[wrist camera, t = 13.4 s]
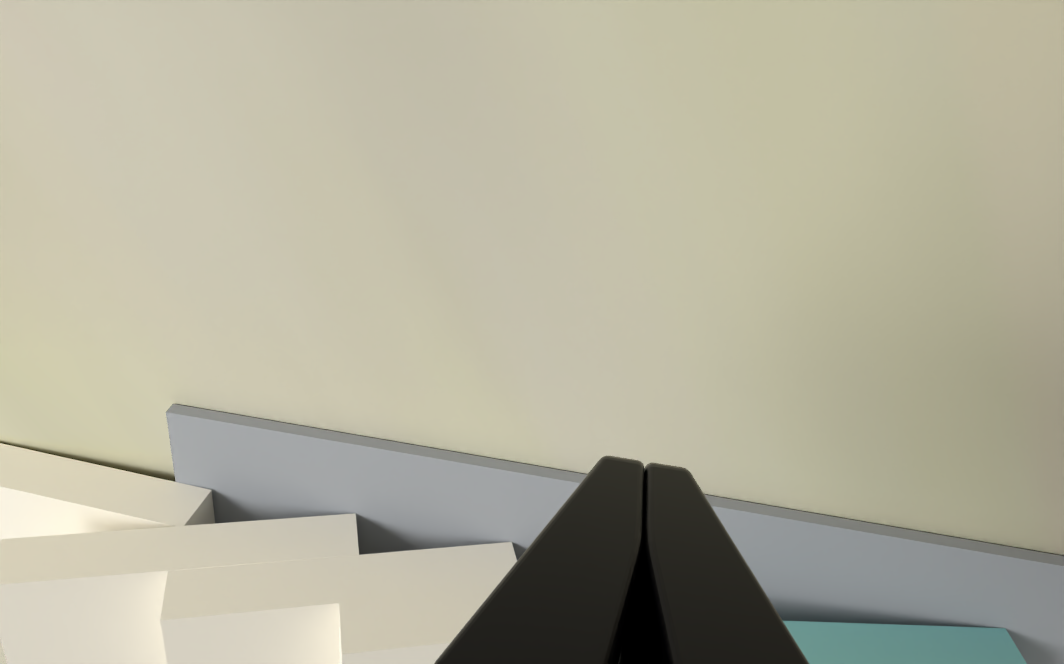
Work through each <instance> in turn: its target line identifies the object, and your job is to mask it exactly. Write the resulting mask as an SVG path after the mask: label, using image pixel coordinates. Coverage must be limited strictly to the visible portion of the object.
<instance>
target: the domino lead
mask: <svg viewBox="0 0 1064 664" xmlns="http://www.w3.org/2000/svg"><path fill="white" fill-rule="evenodd" d="M783 622H784V624H785V625H786V627H787V629H788V630H789V632H790V633H791V635H792V637H793V638H794V640H795V642H796V643H797V645H798V646H799V648H800V650H801V651H802V653H803V654H804V656H805V658H806V659H807V661H808V662H809V664H1027V663H1026V661H1025V660H1024V658H1023V657H1022V655H1021V653H1020V652H1019V650H1018V648H1017V647H1016V645H1015V643H1014V642H1013V640H1012V638H1011V637H1010V635H1009V633H1008V632H1007V630H1006V628H982V627H953V626H924V625H895V624H866V623H837V622H808V621H783Z"/></svg>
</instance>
